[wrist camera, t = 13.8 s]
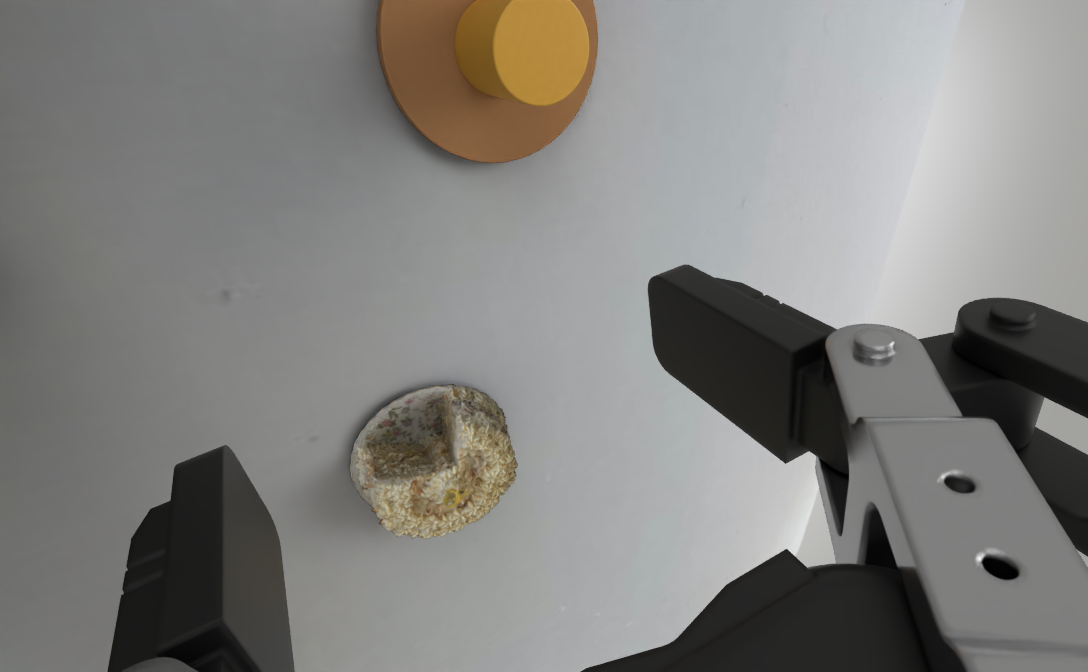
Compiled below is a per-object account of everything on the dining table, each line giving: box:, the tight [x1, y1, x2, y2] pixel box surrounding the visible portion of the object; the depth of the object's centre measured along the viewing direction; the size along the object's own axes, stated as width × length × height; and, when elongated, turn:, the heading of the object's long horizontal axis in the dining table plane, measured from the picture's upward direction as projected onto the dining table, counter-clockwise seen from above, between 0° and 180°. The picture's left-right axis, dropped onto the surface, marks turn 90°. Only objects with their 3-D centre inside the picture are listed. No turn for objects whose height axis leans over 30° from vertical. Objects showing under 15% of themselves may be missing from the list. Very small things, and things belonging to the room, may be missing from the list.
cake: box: [349, 384, 518, 539], centre depth 36 cm, size 10×10×5 cm
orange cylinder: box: [455, 0, 589, 106], centre depth 27 cm, size 4×4×5 cm
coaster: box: [377, 0, 598, 163], centre depth 29 cm, size 11×11×1 cm
